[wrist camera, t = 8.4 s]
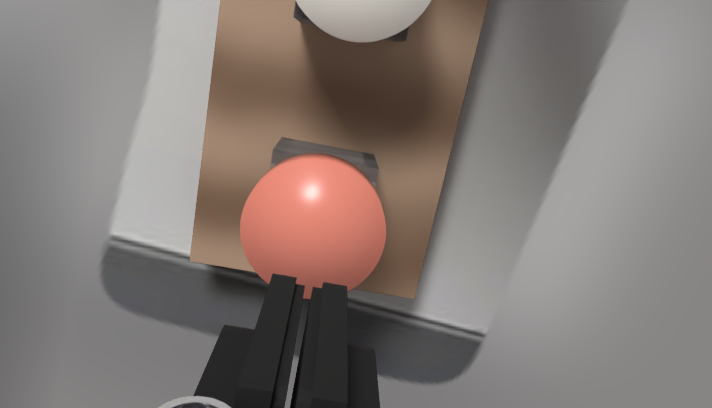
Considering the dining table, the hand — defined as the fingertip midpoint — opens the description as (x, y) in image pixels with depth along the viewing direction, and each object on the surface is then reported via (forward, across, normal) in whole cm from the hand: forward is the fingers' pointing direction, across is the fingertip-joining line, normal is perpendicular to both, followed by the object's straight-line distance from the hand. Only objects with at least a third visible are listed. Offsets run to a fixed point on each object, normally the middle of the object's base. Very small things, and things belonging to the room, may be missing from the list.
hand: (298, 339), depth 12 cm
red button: (+14, 0, +1) cm, 14 cm away
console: (+18, 0, -4) cm, 19 cm away
